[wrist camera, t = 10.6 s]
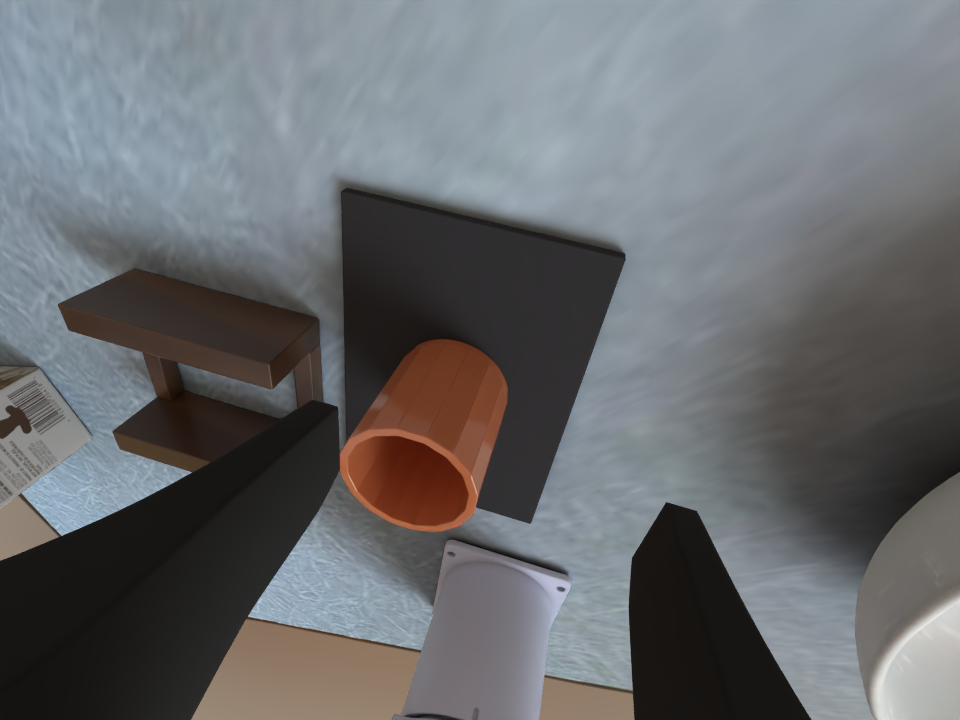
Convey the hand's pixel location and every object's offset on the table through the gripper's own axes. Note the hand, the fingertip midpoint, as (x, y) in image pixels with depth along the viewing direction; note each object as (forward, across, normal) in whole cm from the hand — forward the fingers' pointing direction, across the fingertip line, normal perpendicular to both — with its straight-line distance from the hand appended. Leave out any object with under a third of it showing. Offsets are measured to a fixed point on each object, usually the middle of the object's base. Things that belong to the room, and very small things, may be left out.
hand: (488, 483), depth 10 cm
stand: (+10, +15, +9) cm, 20 cm away
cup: (+10, +3, +6) cm, 12 cm away
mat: (+10, +3, +6) cm, 12 cm away
